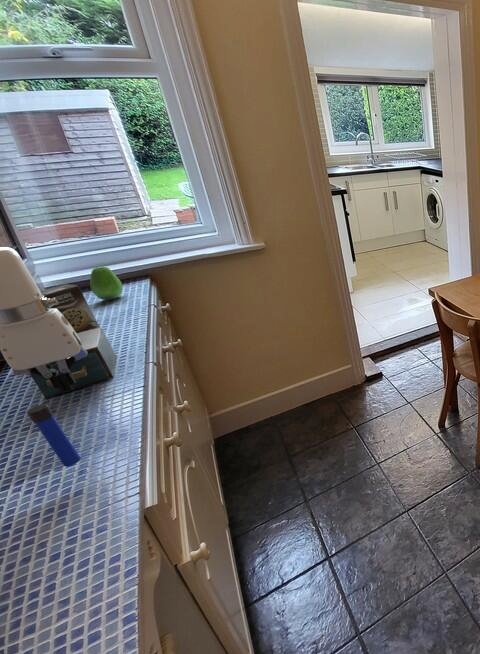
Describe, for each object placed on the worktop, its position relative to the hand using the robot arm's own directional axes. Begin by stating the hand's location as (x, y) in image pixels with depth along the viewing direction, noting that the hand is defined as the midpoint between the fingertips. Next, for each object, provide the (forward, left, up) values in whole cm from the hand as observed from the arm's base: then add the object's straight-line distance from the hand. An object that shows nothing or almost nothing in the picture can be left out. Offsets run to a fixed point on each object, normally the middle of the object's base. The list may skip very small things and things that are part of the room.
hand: (67, 388), depth 88 cm
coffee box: (+14, +36, -4) cm, 39 cm away
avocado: (+35, +68, -4) cm, 77 cm away
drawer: (+5, +10, -3) cm, 11 cm away
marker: (-9, -22, -4) cm, 24 cm away
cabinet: (+6, +13, -4) cm, 15 cm away
